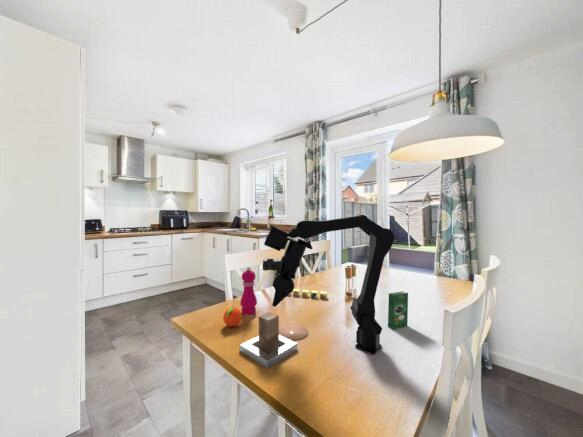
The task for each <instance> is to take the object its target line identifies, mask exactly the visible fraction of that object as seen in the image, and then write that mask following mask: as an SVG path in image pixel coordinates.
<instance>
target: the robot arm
mask: <svg viewBox="0 0 583 437" xmlns="http://www.w3.org/2000/svg"><path fill="white" fill-rule="evenodd" d="M356 228H359V229H360V230H361V231H362V232H364V234H366V235H368V236H369V241H368V242H369V243H368V244H369V255H368V262H367V265H366V270H365V274H364V278H363V282H362V285H361V290H360V293H359V295H358V296H357V298H356V297H354V296H353V297H352V304H351V305H350V307H349V308H350V311H351V315H352V317H353V318H354V320H355V321H356V324H357V325H358V326H357V330H356V336H355V337H356V339H355V342H356V344H355V346H354V348H356V349H359V350H361V351H364V352H367V353H369V354H372V355H376V353H377V352H378V351H379V350H380V349H382V344H381V343H380V342H381V341H380V340H381V339H380V338H381V336H380V335H381V334H382V330H383V327H382V326H381V325H380V323H379V322H378V321H377V320H376V307H375V306H376V305H375V298H376V293H377V290H378V285H379V281H380V278H381V274H382V273H381V272H382V269H383V266H384V262H385V261H384V260H385V257H386V256H387V254H388V253H389V252H390V250H391V248H393V247H392V246H393V244H394V242H395V234H394V232H393V231H392V230H391V229H389V228H385V227H382V226H381V225H379V224H378V223H376V222H375V221H373V220H372V219H370V218H369V217H368V216H366V215H365V214H357V215H354V216H347V217H346V216H345V217H341V218H333V219H326V220H311V219H310V220H309V219H306V220H305V219H302V220H300V221H298V222H297V223H296V224H295V227H293V229H291V230H289V231H286V230H284V229H283V230H282V229H280V228H278V227H277V226H275V225H272V226H271V228H270V230H269V233H268V234H267V236H266V238H265V240H264V244H263V245H264V246H266V247H268V248H271V249H274V250H275V251H278V252H281V250H285V249H286V250H285V252H284V255H282V256H281V258H273V257H264V258H263V260H262V271H265V272H267V271H275V276H274V279H273V281H272V287H273V289H274V295H273V301H272V304H271V305H272V306H273V307H275V308H276V307H277V306H278V305H279V304H280V303H281V302H282V301H283V300H284V299H285V298H286V297H288V295H289V294H290V293H291V292H292V293H293V290H294V289H295V282H294V280H295V278H296V273H297V271H298V268H299V267H300V266H301V261H302V259H303V256H304V254H305V252H306V249H310V250H313V246H312V242H311V240H308V239H310V238H313V237H316V236H319V235H322V234H324V233H329V232H334V231H335V232H336V231H342V230H343V231H344V230H350V229H356ZM295 238H296V239H297V238H298V239H297V240H296V239H295ZM306 240H307V241H306ZM288 241H289V242H288ZM287 244H288V245H287Z"/></svg>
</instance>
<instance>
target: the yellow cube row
mask: <svg viewBox="0 0 583 437" xmlns="http://www.w3.org/2000/svg"><path fill="white" fill-rule="evenodd" d="M310 291H311V292H310ZM291 293H292V294H291ZM291 293H290V294H291V295H292V297H298V296H299V295H300V296H301V298H307V297H310V299H318V297H319V299H320V300H327V298H328V291H320V292H319V291H318V290H309V289H302V290H301V289H300V288H294V289H293V291H292V292H291ZM290 294H289V295H290ZM291 295H290V296H291ZM300 296H299V297H300Z"/></svg>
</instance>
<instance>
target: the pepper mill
mask: <svg viewBox="0 0 583 437" xmlns="http://www.w3.org/2000/svg"><path fill="white" fill-rule="evenodd" d="M241 279H242V281H243V282H242V286H243V292H242V295H241V298H240V303H239V304H240V306H241V311H240V312H241V315H245V316H250V315H254V314H255V313H256V310H257V308H256V306H257V304H258V300H257V297H256V295H255V290H254V285H255V280H256V273H255V272H254V271H253V270H251V267H249V266H247V267H246V270H245V271H243V272H242V274H241Z"/></svg>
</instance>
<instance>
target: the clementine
mask: <svg viewBox="0 0 583 437" xmlns="http://www.w3.org/2000/svg"><path fill="white" fill-rule="evenodd" d="M242 315H243V314H242V313H241V311H240V309H239V308H238V307H229V308H228V309H226V310H225V311H224V314H223V322H224V324H225V325H226V326H228V327H231V328H232V327H235V326H238V324H240V322H241V320H242Z"/></svg>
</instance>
